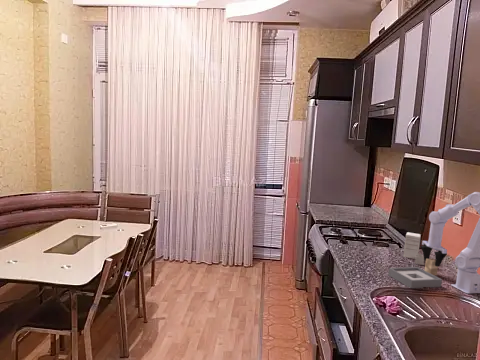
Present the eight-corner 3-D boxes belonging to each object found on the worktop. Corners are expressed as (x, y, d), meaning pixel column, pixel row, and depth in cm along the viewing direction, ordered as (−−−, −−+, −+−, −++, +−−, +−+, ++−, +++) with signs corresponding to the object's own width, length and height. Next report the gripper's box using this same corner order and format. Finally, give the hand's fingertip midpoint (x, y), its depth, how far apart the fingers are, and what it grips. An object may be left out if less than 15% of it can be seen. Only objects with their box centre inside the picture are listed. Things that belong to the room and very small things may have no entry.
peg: (436, 275, 203) (438, 261, 202) (430, 275, 202) (431, 261, 201) (430, 272, 207) (432, 258, 206) (424, 272, 206) (426, 258, 205)
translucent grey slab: (415, 263, 219) (417, 248, 218) (414, 262, 221) (416, 248, 220) (429, 266, 216) (431, 251, 215) (429, 265, 218) (431, 250, 217)
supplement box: (404, 253, 237) (407, 231, 235) (418, 256, 233) (421, 234, 232) (402, 256, 230) (405, 234, 228) (417, 259, 227) (420, 236, 225)
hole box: (441, 286, 187) (442, 279, 186) (410, 288, 182) (411, 280, 182) (416, 274, 202) (417, 267, 202) (388, 275, 198) (389, 267, 197)
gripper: (418, 232, 208) (414, 258, 210) (439, 240, 194) (435, 268, 196) (430, 232, 210) (426, 258, 212) (452, 240, 196) (448, 268, 198)
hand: (431, 263), depth 204 cm, fingers open, 7 cm apart
